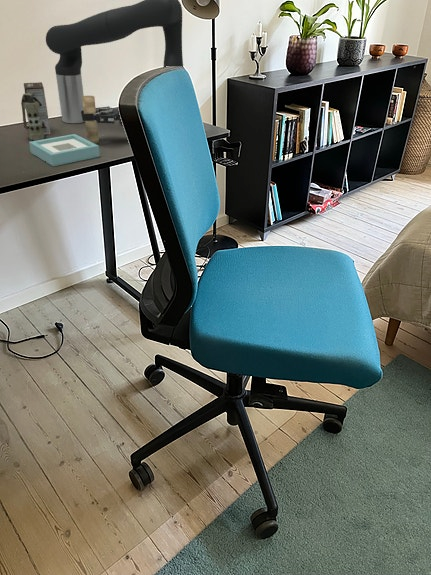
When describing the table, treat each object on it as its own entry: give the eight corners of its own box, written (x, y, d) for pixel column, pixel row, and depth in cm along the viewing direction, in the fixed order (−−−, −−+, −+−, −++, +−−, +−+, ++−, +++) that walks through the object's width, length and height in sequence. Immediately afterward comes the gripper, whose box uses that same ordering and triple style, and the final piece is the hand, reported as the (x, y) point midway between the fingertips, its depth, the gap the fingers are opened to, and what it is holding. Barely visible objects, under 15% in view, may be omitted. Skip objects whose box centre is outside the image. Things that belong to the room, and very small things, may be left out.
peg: (85, 141, 164) (79, 96, 155) (95, 139, 166) (90, 95, 158) (90, 144, 161) (85, 98, 153) (101, 142, 163) (96, 97, 155)
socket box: (30, 152, 152) (28, 141, 150) (76, 144, 161) (74, 133, 159) (53, 166, 142) (51, 155, 140) (99, 156, 151) (98, 145, 149)
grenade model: (49, 136, 167) (42, 92, 159) (38, 142, 161) (30, 96, 153) (33, 134, 168) (26, 90, 160) (22, 139, 163) (13, 94, 154)
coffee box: (31, 128, 174) (22, 82, 165) (49, 127, 176) (41, 82, 167) (32, 135, 167) (24, 87, 158) (51, 134, 169) (44, 87, 160)
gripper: (129, 98, 166) (79, 99, 161) (135, 107, 154) (81, 109, 150) (130, 119, 170) (81, 121, 165) (136, 130, 159) (84, 132, 154)
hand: (82, 115), depth 158 cm, fingers closed on peg, 4 cm apart
